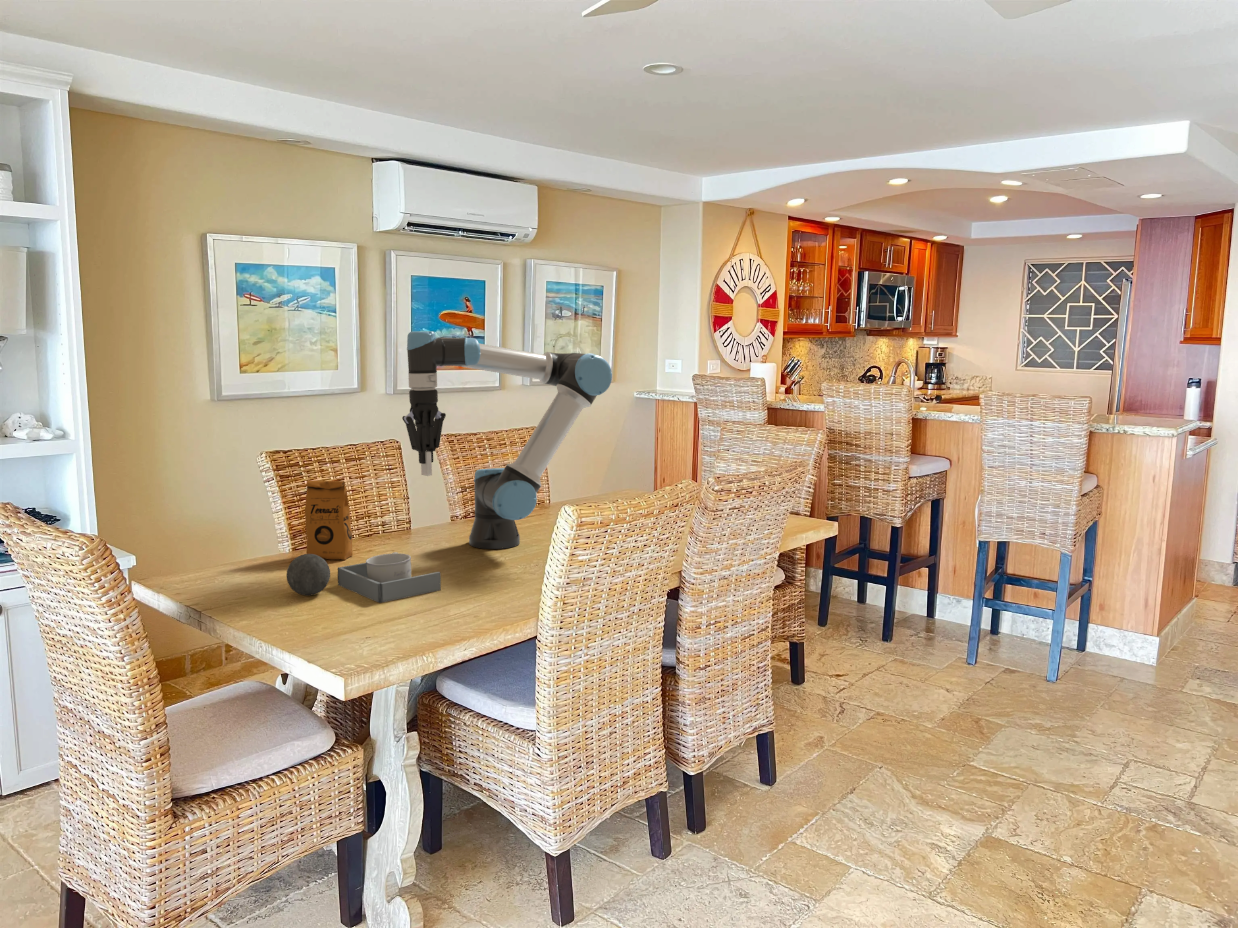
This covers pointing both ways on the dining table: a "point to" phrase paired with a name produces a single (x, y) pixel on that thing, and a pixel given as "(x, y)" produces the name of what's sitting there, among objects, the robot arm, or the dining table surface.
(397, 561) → the teacup
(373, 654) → the dining table surface
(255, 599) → the dining table surface
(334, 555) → the coffee package
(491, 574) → the dining table surface
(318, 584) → the decorative ball
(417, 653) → the dining table surface
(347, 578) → the box
